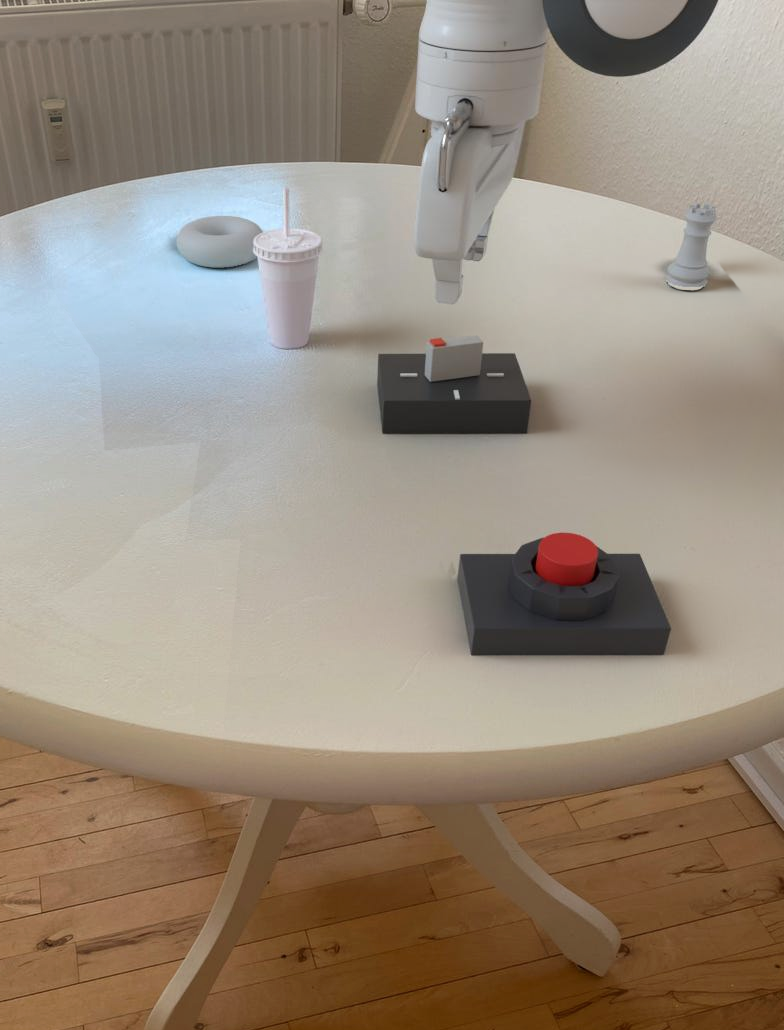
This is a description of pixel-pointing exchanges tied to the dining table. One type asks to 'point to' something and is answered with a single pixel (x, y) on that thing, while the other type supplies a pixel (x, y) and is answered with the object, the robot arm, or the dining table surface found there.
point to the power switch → (560, 607)
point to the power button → (566, 559)
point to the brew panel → (452, 397)
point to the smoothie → (288, 279)
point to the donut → (218, 241)
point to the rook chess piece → (693, 249)
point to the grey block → (453, 358)
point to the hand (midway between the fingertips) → (461, 278)
